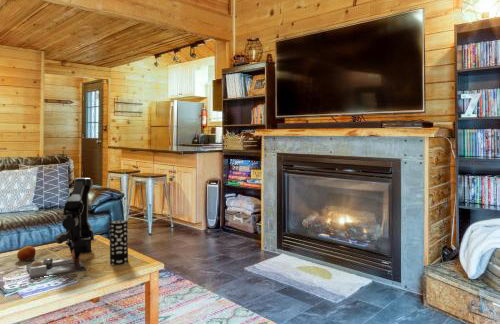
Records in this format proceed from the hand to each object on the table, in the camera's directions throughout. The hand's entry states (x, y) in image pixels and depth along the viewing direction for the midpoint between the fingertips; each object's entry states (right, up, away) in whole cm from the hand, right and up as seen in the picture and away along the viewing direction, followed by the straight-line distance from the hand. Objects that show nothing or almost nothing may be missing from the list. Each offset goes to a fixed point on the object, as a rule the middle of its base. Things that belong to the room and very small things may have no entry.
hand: (75, 258), depth 189 cm
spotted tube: (+21, -3, +2) cm, 21 cm away
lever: (-6, -2, -5) cm, 8 cm away
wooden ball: (-10, -4, -16) cm, 19 cm away
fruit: (-27, -3, +6) cm, 28 cm away
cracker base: (-6, -3, -7) cm, 10 cm away
